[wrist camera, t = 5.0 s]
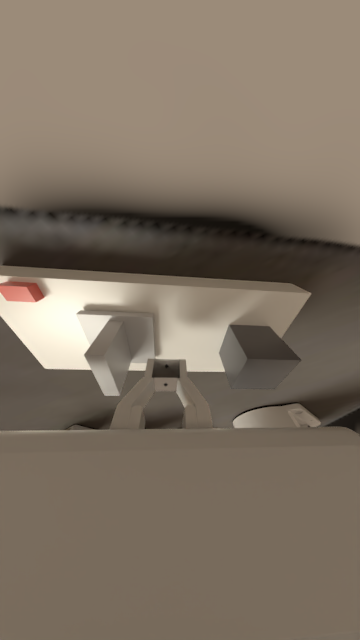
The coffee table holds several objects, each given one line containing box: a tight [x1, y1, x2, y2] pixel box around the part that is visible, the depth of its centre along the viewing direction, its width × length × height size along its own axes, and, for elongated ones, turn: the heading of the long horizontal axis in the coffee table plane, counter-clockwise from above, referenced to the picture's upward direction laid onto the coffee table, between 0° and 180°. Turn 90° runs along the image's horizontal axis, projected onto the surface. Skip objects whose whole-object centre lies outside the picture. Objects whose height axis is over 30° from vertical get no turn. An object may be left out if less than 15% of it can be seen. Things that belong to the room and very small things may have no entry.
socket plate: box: [0, 265, 312, 372], centre depth 14 cm, size 26×11×3 cm, turn 86°
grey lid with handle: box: [76, 310, 156, 396], centre depth 11 cm, size 6×6×4 cm
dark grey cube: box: [219, 325, 301, 389], centre depth 12 cm, size 4×4×4 cm
